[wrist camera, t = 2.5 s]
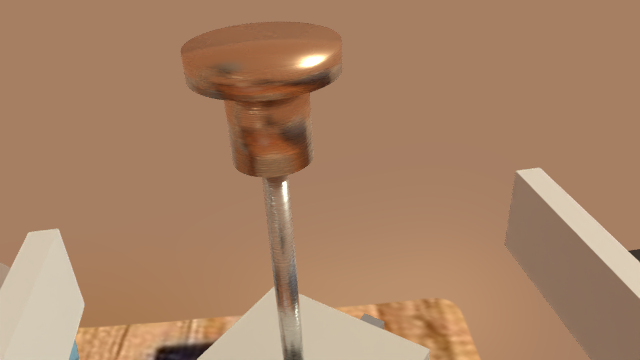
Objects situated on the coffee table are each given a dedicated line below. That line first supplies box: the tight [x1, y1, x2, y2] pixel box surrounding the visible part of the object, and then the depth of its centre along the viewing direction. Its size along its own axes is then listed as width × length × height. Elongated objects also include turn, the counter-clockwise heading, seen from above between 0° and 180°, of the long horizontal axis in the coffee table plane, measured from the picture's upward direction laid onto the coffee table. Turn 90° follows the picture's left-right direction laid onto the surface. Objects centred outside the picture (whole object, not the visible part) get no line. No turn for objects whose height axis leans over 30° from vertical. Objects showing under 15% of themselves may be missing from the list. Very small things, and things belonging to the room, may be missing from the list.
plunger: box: [181, 22, 342, 360], centre depth 28 cm, size 6×6×23 cm
